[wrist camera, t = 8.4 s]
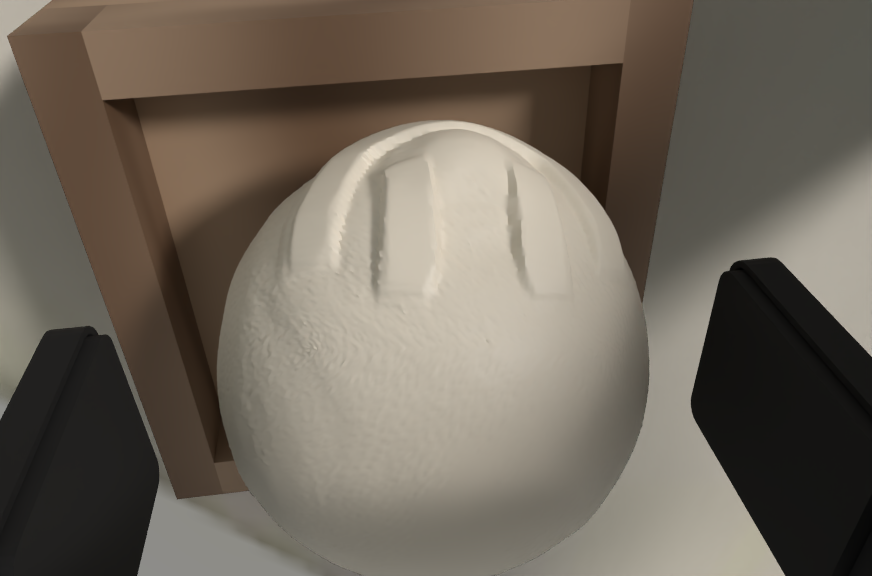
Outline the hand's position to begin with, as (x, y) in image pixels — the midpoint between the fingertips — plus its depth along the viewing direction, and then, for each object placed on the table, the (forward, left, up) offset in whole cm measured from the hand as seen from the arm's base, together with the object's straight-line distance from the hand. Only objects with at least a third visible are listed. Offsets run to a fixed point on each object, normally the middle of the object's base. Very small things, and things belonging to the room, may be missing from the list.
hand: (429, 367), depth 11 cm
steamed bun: (0, 0, -4) cm, 4 cm away
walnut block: (+1, 0, -9) cm, 9 cm away
